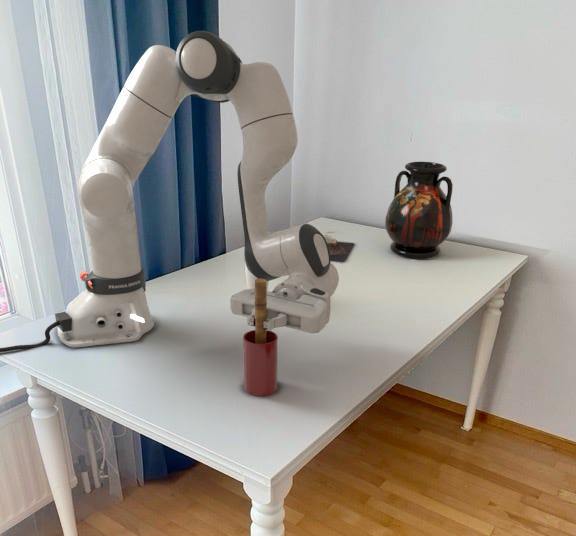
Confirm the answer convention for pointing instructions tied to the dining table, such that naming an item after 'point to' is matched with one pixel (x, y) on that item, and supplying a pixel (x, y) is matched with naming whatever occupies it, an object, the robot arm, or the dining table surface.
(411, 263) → the dining table surface
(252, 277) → the drinking glass
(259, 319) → the tan rod with ring
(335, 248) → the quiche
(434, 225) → the amphora vase
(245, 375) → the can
